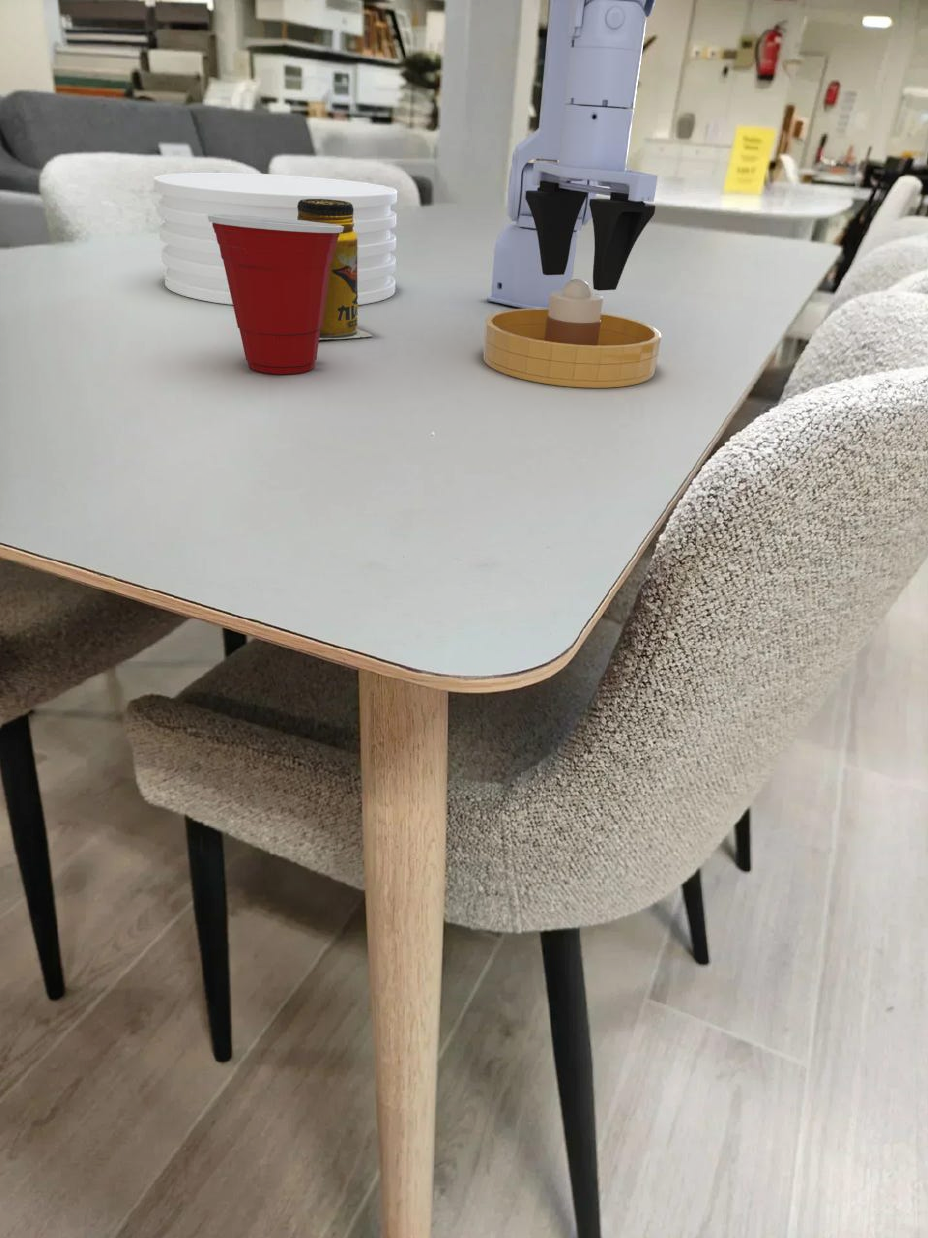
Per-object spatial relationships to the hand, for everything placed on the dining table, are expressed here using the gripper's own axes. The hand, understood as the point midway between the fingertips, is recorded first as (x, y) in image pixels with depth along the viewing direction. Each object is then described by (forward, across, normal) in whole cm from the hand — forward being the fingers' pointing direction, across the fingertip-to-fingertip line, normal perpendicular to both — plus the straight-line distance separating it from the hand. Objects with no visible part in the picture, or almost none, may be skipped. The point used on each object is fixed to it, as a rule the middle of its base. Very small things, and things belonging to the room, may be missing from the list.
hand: (578, 281), depth 78 cm
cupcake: (+7, 0, 0) cm, 7 cm away
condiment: (+8, +18, +18) cm, 27 cm away
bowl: (+7, 0, 0) cm, 7 cm away
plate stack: (+8, +43, +12) cm, 46 cm away
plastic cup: (+8, +8, +26) cm, 28 cm away
